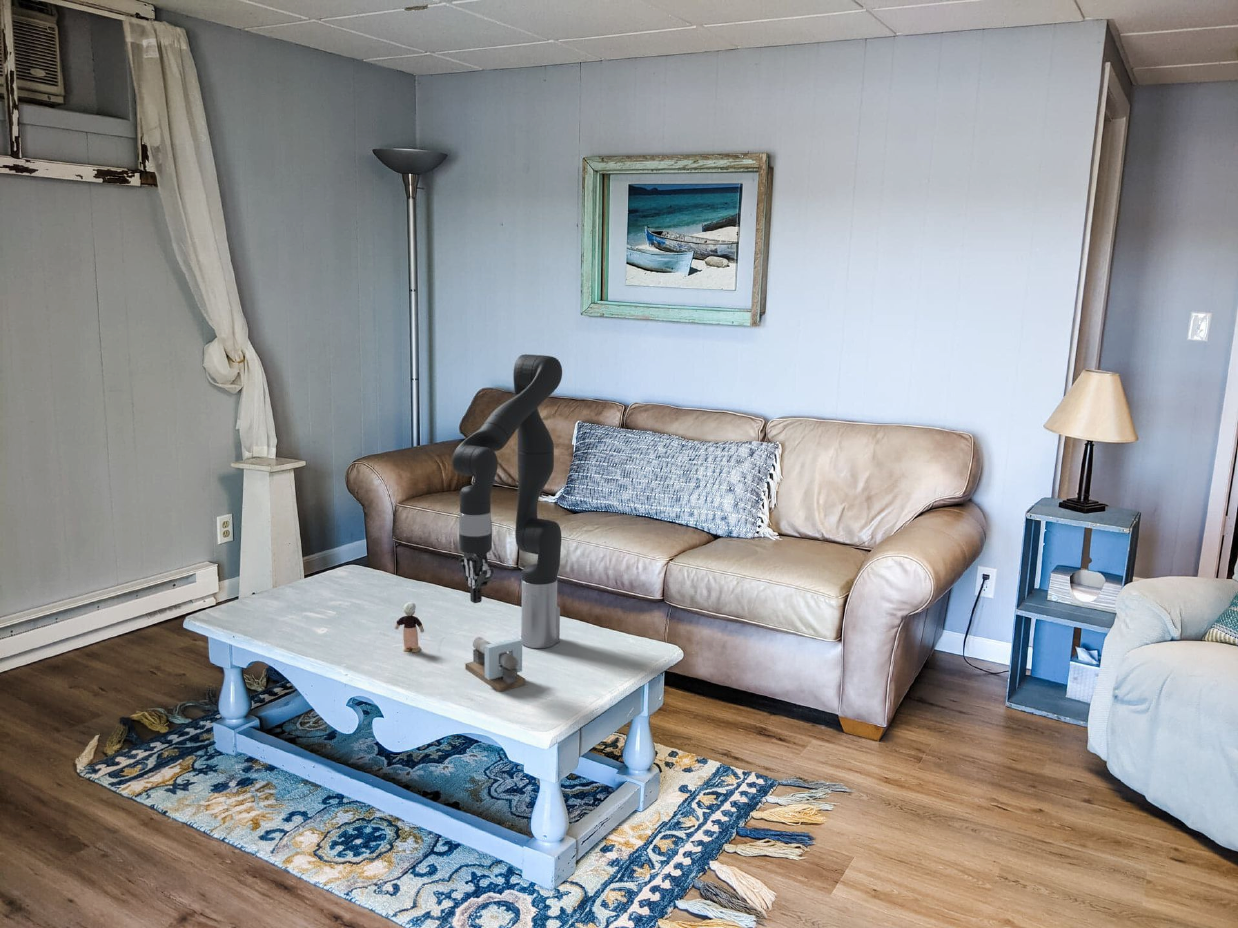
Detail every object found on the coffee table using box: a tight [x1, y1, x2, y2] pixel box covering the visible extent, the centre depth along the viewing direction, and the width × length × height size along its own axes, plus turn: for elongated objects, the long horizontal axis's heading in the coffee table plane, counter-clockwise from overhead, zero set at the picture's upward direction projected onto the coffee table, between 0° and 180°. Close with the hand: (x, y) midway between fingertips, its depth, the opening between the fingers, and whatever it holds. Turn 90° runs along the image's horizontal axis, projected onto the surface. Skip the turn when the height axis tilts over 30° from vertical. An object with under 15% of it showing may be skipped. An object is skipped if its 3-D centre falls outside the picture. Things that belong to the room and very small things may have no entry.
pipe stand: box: [464, 636, 526, 693], centre depth 225 cm, size 7×16×8 cm, turn 38°
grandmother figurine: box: [394, 601, 425, 653], centre depth 240 cm, size 8×4×13 cm, turn 92°
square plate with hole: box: [485, 637, 523, 680], centre depth 221 cm, size 9×2×8 cm, turn 128°
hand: (476, 601), depth 222 cm, fingers closed
